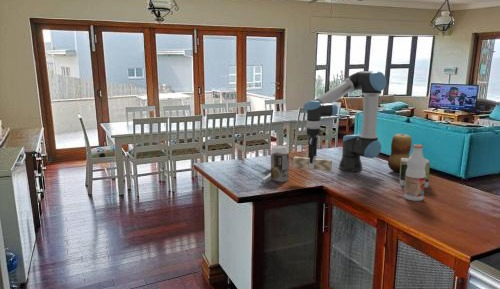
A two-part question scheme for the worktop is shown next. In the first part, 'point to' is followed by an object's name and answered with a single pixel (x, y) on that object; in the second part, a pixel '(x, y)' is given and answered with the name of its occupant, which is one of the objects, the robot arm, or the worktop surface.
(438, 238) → the worktop surface
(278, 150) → the cup
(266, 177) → the stop batten
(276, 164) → the coffee box
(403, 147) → the butternut squash
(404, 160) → the tea box
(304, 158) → the beech stick
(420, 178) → the fruit juice
